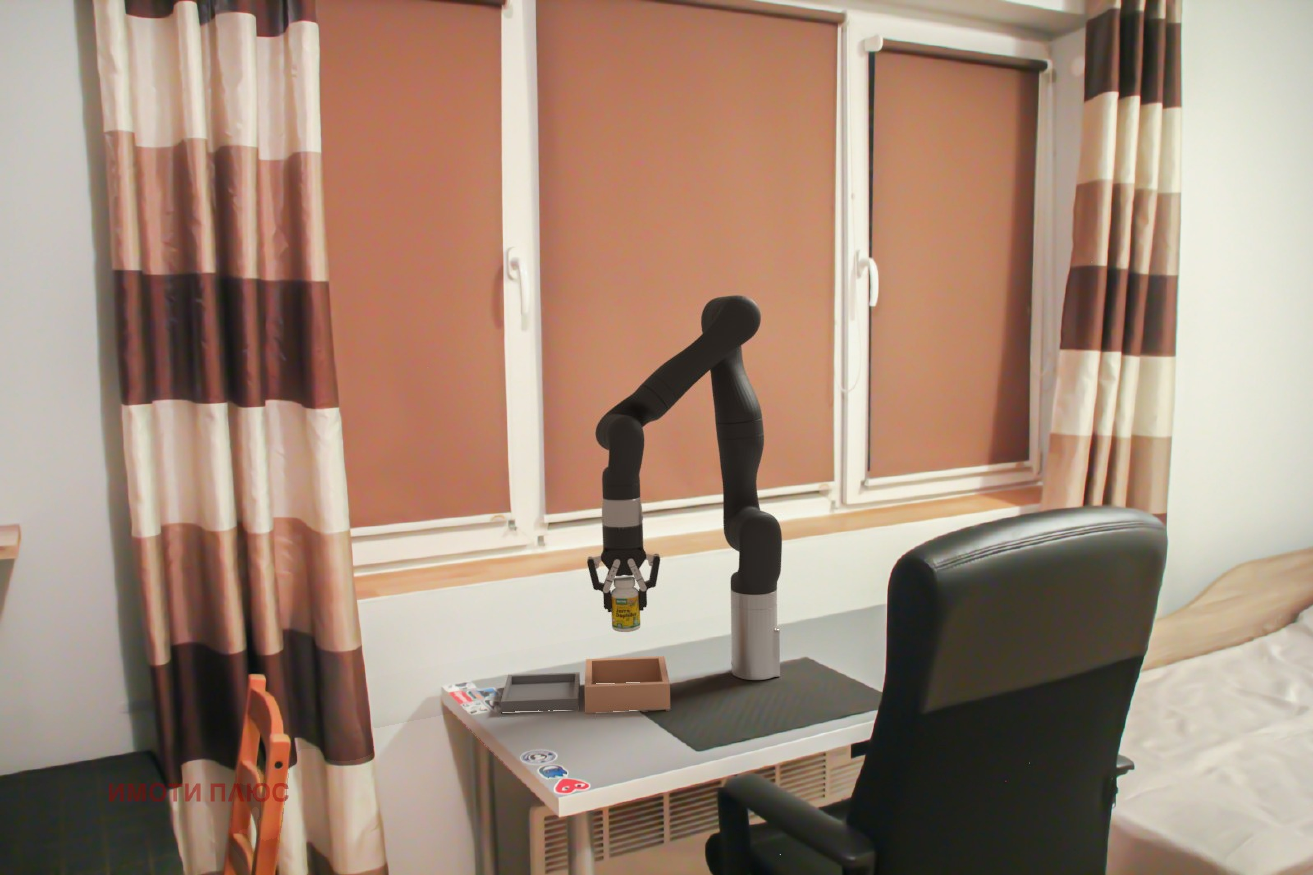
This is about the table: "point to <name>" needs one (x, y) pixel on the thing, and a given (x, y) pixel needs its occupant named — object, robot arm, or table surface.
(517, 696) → the tray
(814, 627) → the table surface
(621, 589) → the supplement bottle
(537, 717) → the table surface
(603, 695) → the box
